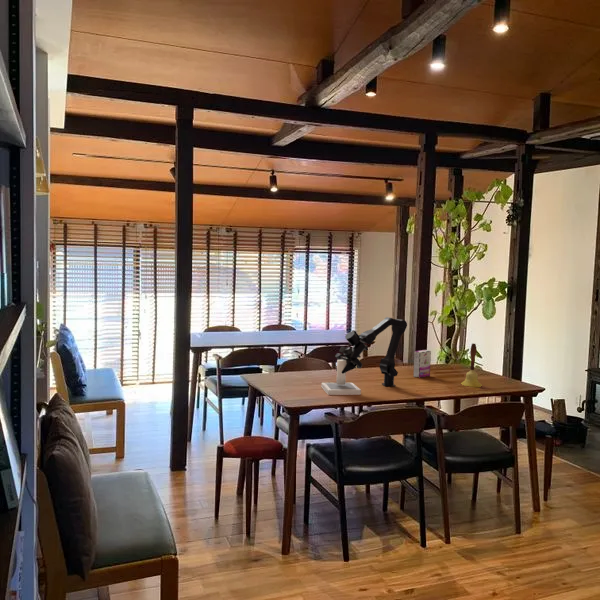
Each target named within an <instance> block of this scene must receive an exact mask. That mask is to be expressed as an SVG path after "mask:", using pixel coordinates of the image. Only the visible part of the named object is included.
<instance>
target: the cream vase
mask: <svg viewBox="0 0 600 600" xmlns="http://www.w3.org/2000/svg"><path fill="white" fill-rule="evenodd" d="M346 365H347V362H346V360H338V359H337V360H336V369H337V371H336V378H335V379H336V382H335V383H336V384H338V385H345V383H347V382H346V380H347V377H346V376H347V372H346V373H343V374H342V371H343V369H344V368H345V366H346Z"/></svg>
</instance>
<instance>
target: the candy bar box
mask: <svg viewBox="0 0 600 600" xmlns="http://www.w3.org/2000/svg"><path fill="white" fill-rule="evenodd" d="M413 355H414V357H413V378H417V377H419V379H421V378H427V377H430V376H431V360H432V359H431V355H432V351H431V350H427V349H422V350H421V349H420V350H415V351H414V354H413ZM426 376H427V377H426ZM420 377H421V378H420Z"/></svg>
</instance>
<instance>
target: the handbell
mask: <svg viewBox="0 0 600 600" xmlns="http://www.w3.org/2000/svg"><path fill="white" fill-rule="evenodd" d="M469 354H470V368H469V369H470V370H469V371H467V372H466V374H465V379H464V380H463V381H462V382H461V383H460V385H461V384H462V385H461V386H463V385H464V386H463V387H467V386H469V387H468V388H482V387H483V385H482V383H480V381H479V380H478V378H479V376H478V375H479V374H478V373H477V372H476V371H475V365H476V364H475V363H476V362H475V361H476V356H477V345H476V343H471V347H470V353H469ZM481 386H482V387H481Z"/></svg>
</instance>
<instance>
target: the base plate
mask: <svg viewBox="0 0 600 600" xmlns="http://www.w3.org/2000/svg"><path fill="white" fill-rule="evenodd" d="M320 386H321V388H322V389H323V391H324V392H325V394H327V396H328V395H329V396H337V395H338V396H342V395H343V396H344V395H346V396H347V395H348V396H351V395H352V396H355V395H357V396H358V395H359V396H360V395H361V394H362V389H361V388H359V387H358V386H357V385H356V384H354V383H353V382H345V385H338V384H336V382H321V385H320Z"/></svg>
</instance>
